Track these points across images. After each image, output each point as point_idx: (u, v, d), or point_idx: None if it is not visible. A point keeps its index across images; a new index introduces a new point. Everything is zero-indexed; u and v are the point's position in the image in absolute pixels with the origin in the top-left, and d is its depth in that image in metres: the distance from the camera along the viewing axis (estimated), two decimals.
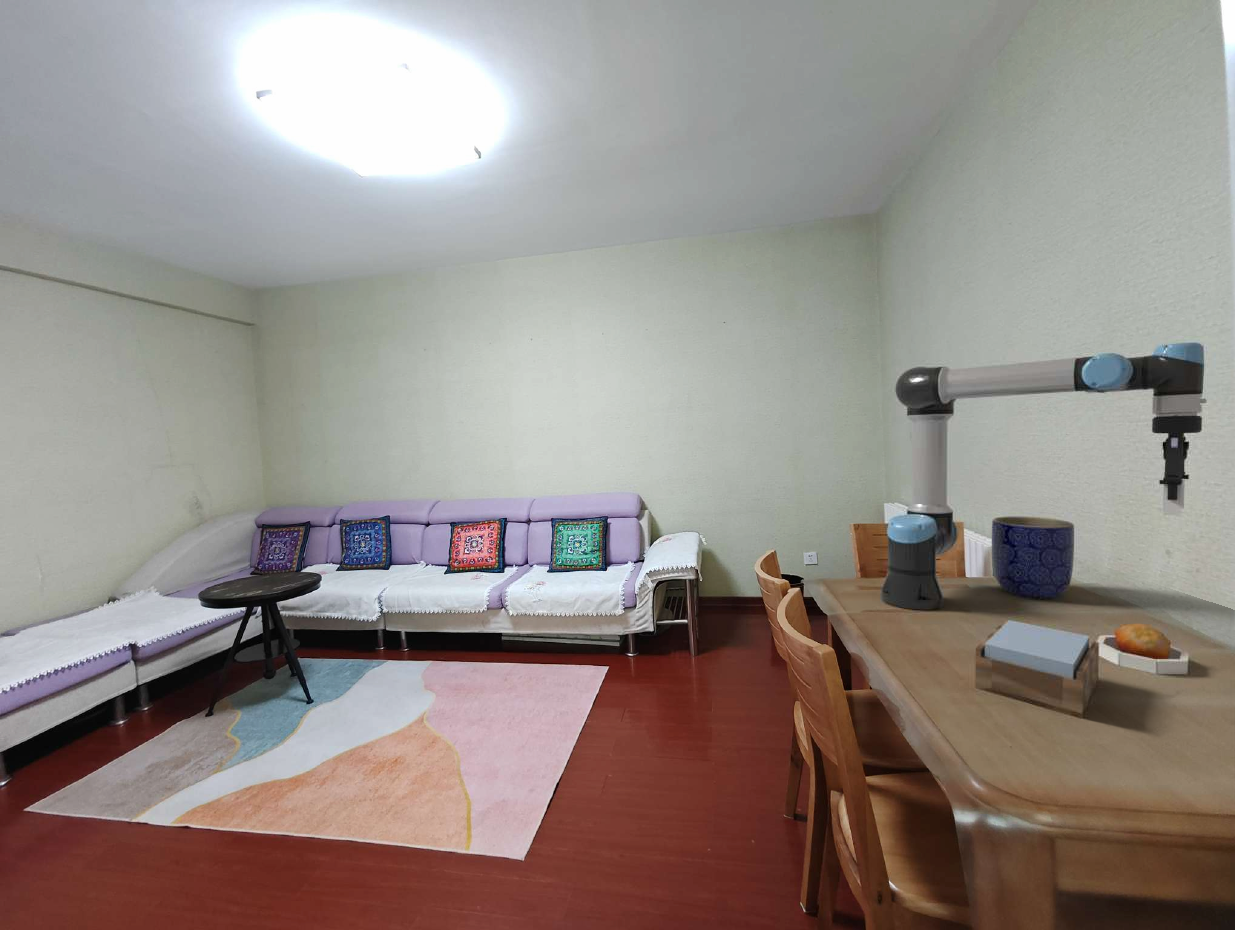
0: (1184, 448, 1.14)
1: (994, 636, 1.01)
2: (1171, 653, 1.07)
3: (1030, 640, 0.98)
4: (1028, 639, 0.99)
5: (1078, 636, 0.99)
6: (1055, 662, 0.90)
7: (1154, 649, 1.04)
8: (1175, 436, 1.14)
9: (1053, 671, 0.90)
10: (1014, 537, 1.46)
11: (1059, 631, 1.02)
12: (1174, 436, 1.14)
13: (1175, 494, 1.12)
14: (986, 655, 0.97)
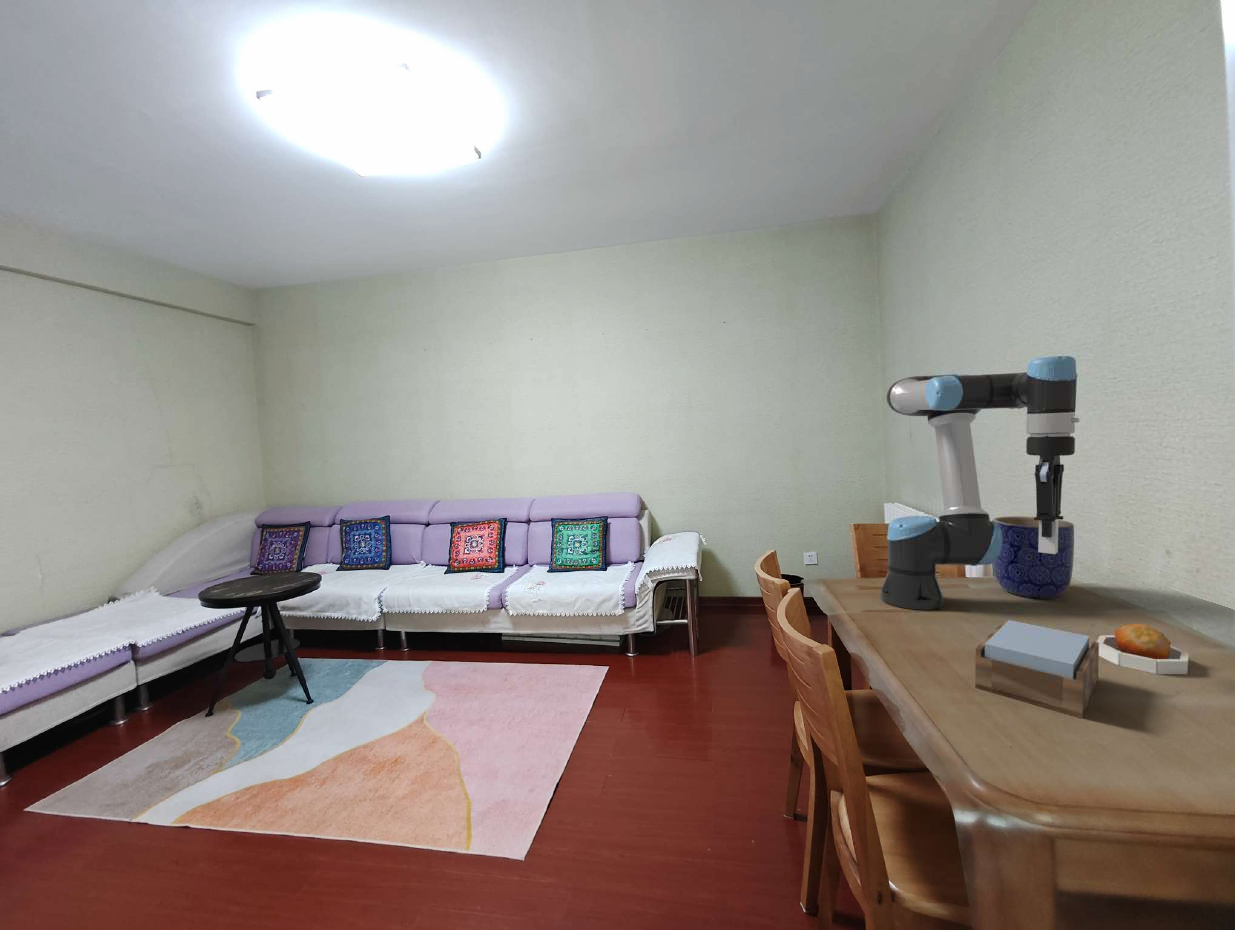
0: (1056, 475, 1.04)
1: (994, 636, 1.01)
2: (1171, 653, 1.07)
3: (1030, 640, 0.98)
4: (1028, 639, 0.99)
5: (1078, 636, 0.99)
6: (1055, 662, 0.90)
7: (1154, 649, 1.04)
8: (1046, 459, 1.04)
9: (1053, 671, 0.90)
10: (1014, 537, 1.46)
11: (1059, 631, 1.02)
12: (1045, 459, 1.04)
13: (1049, 531, 1.05)
14: (986, 655, 0.97)
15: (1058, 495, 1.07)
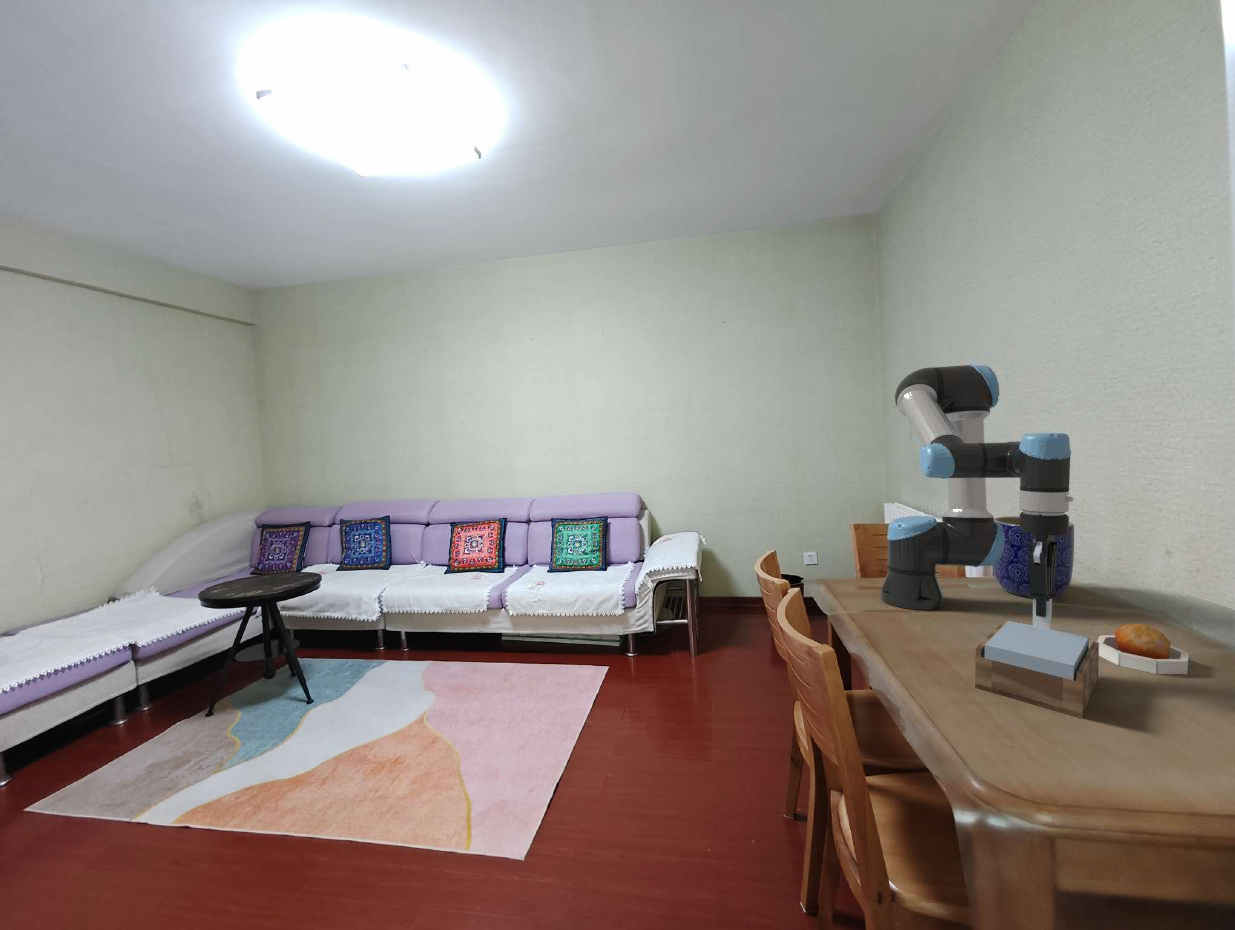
0: (1050, 555, 1.02)
1: (994, 637, 1.00)
2: (1171, 653, 1.07)
3: (1029, 641, 0.98)
4: (1028, 639, 0.98)
5: (1078, 637, 0.99)
6: (1056, 663, 0.89)
7: (1154, 649, 1.04)
8: (1039, 538, 1.01)
9: (1053, 672, 0.90)
10: (1014, 537, 1.46)
11: (1059, 631, 1.02)
12: (1038, 538, 1.01)
13: (1043, 611, 1.03)
14: (986, 656, 0.97)
15: (1052, 573, 1.04)
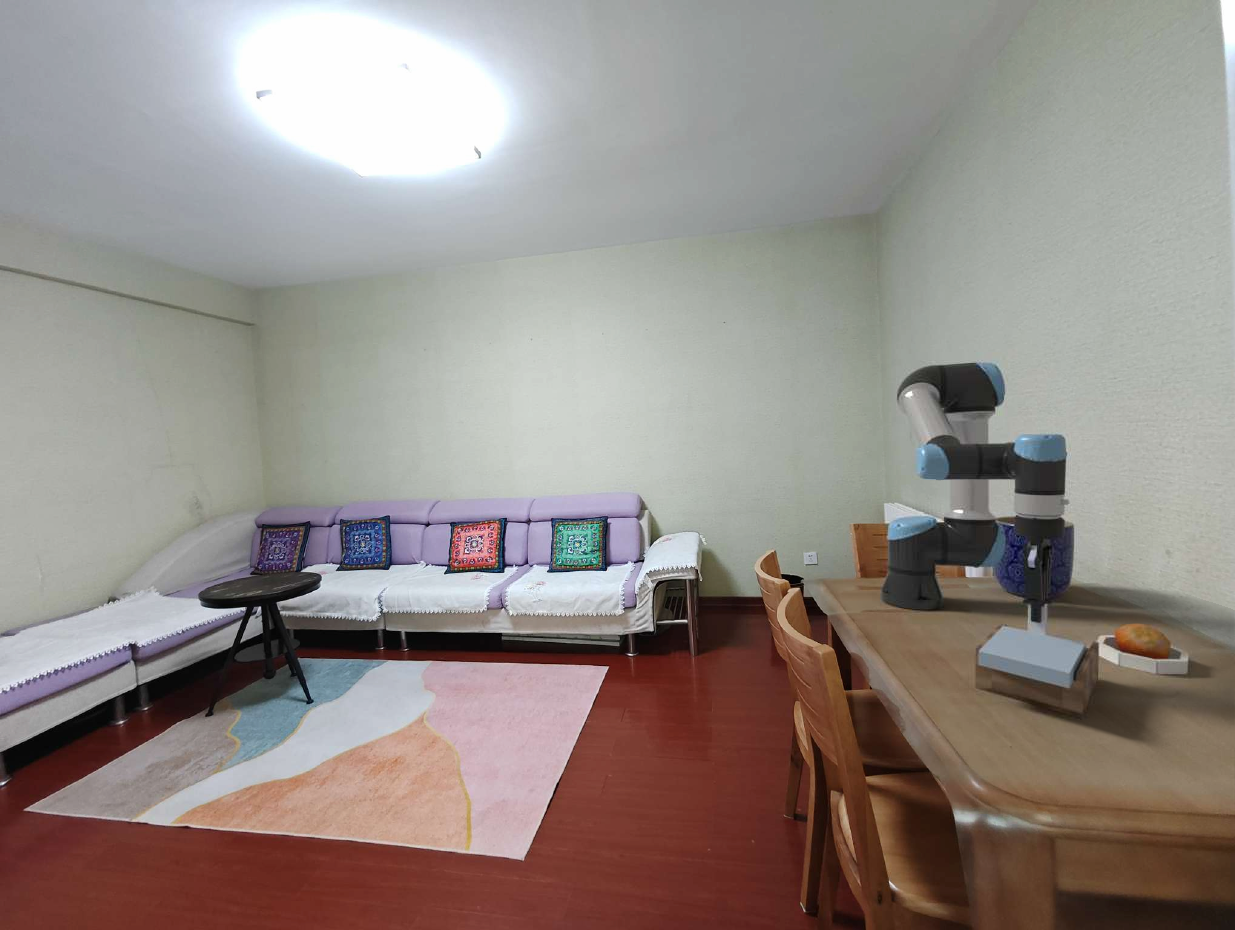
0: (1045, 559, 0.99)
1: (988, 643, 0.98)
2: (1171, 653, 1.07)
3: (1025, 648, 0.95)
4: (1023, 645, 0.96)
5: (1074, 643, 0.96)
6: (1051, 670, 0.87)
7: (1154, 649, 1.04)
8: (1034, 542, 0.99)
9: (1049, 680, 0.87)
10: (1014, 537, 1.46)
11: (1055, 637, 0.99)
12: (1033, 542, 0.99)
13: (1038, 616, 1.00)
14: (980, 663, 0.94)
15: (1047, 578, 1.02)
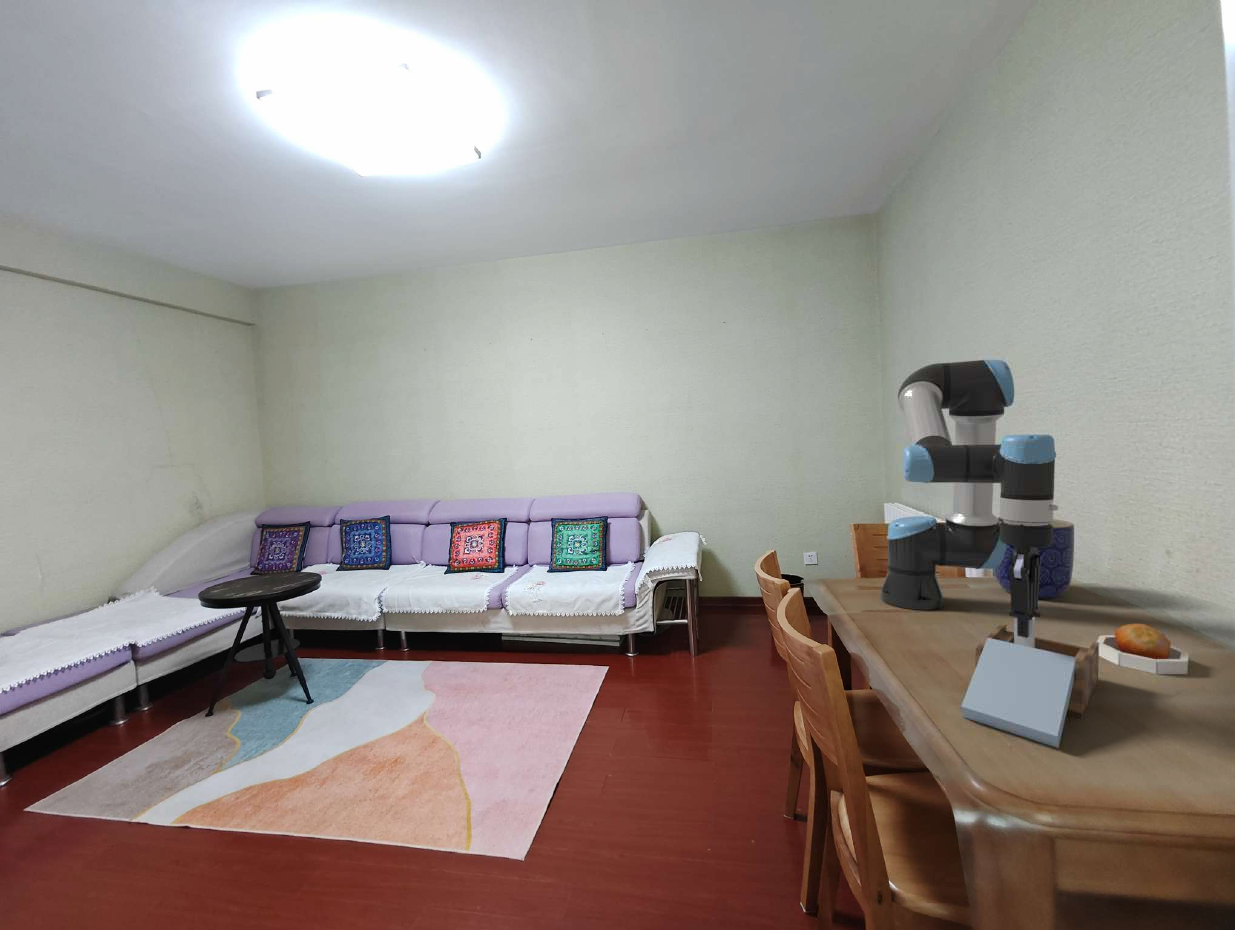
0: (1033, 569, 0.92)
1: (971, 684, 0.91)
2: (1171, 653, 1.07)
3: (1010, 686, 0.88)
4: (1009, 681, 0.89)
5: (1063, 661, 0.89)
6: (1038, 731, 0.80)
7: (1154, 649, 1.04)
8: (1021, 551, 0.92)
9: (1036, 738, 0.81)
10: None
11: (1043, 653, 0.91)
12: (1019, 551, 0.92)
13: (1025, 631, 0.93)
14: (964, 716, 0.88)
15: (1035, 589, 0.95)
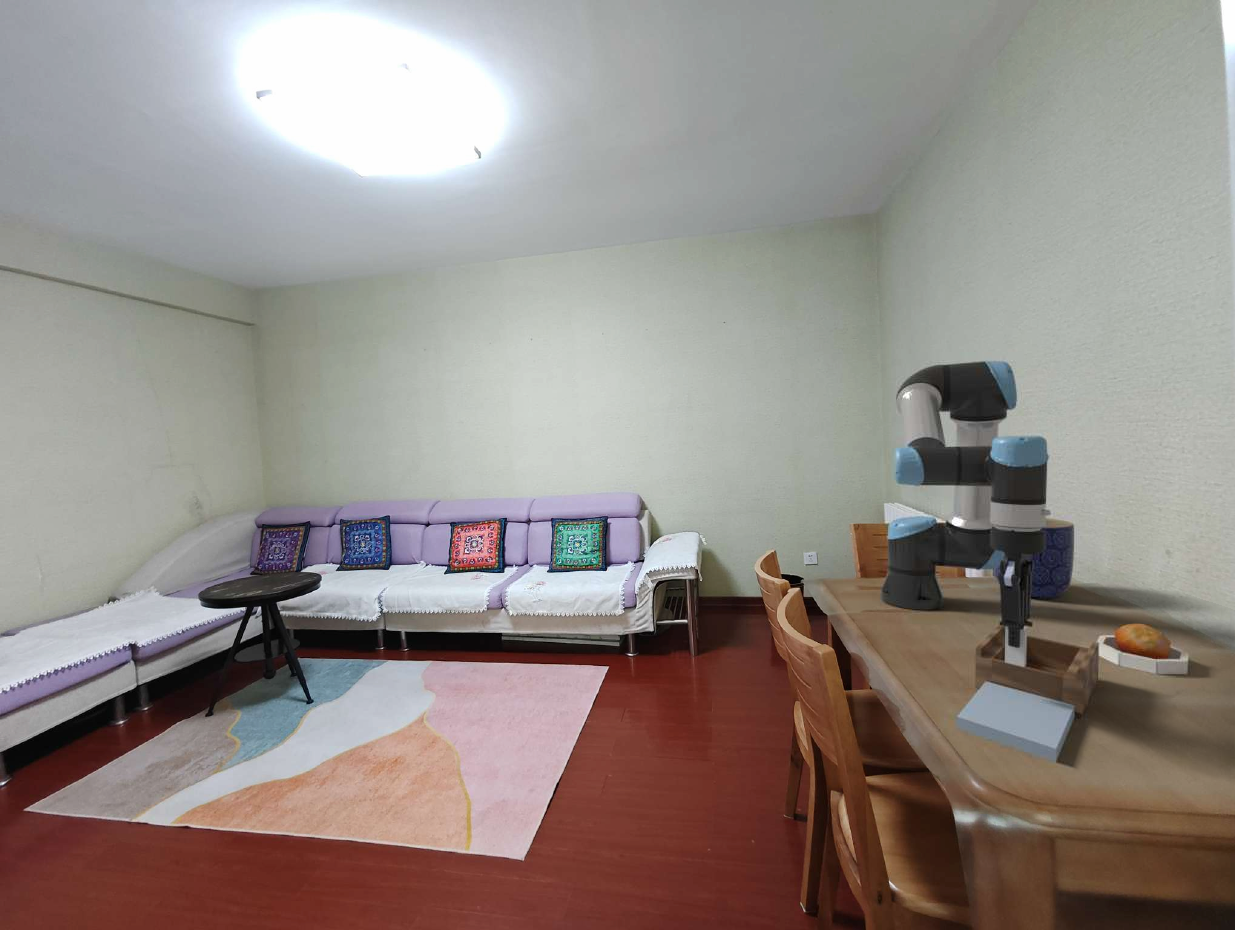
0: (1024, 577, 0.88)
1: (968, 705, 0.89)
2: (1171, 653, 1.07)
3: (1008, 712, 0.86)
4: (1007, 709, 0.87)
5: (1062, 705, 0.88)
6: (1036, 744, 0.78)
7: (1154, 649, 1.04)
8: (1011, 557, 0.88)
9: (1033, 754, 0.78)
10: None
11: (1041, 698, 0.90)
12: (1010, 557, 0.88)
13: (1016, 641, 0.89)
14: None
15: (1027, 597, 0.91)
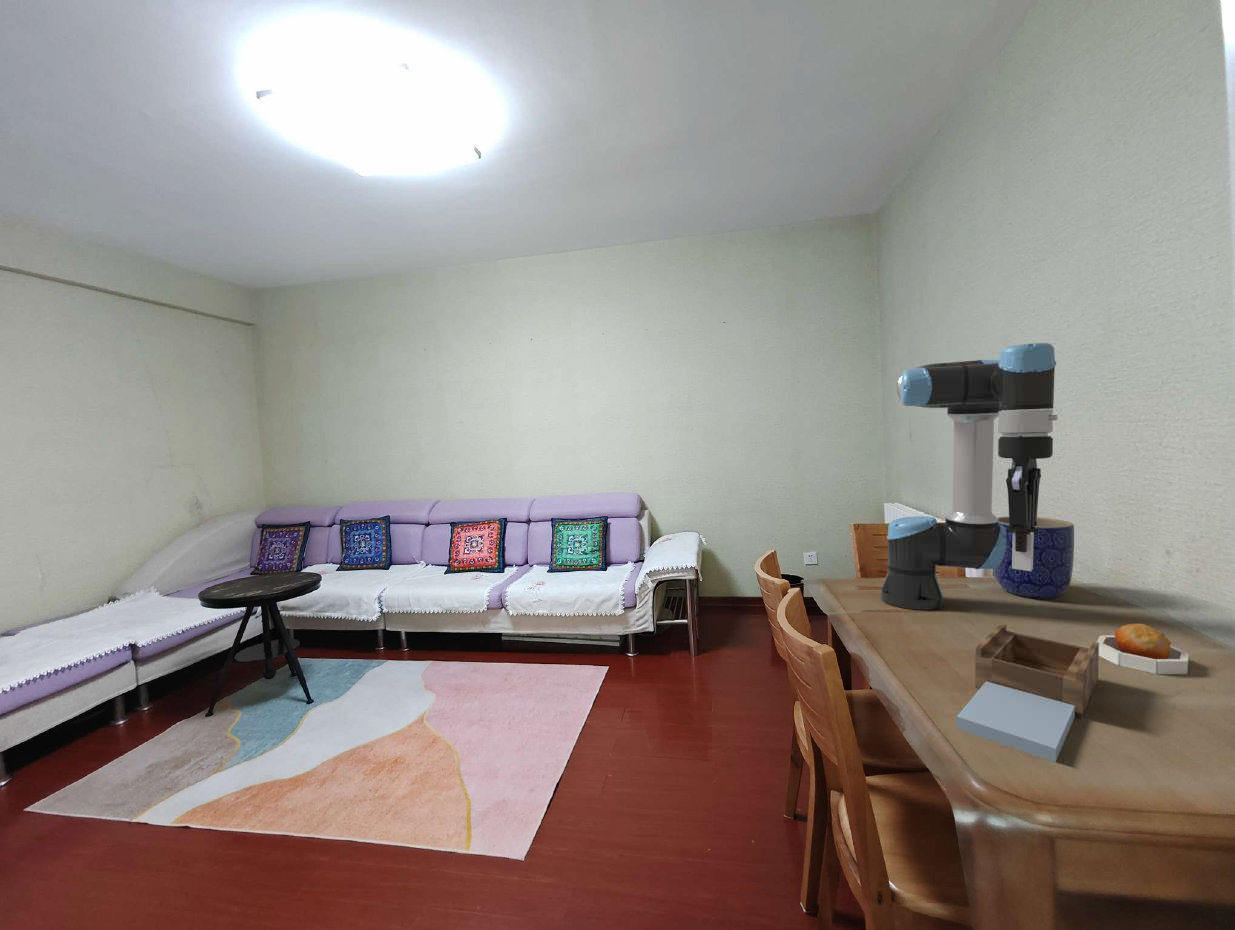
0: (1031, 482, 0.90)
1: (968, 705, 0.89)
2: (1171, 653, 1.07)
3: (1008, 712, 0.86)
4: (1006, 709, 0.87)
5: (1062, 705, 0.88)
6: (1035, 744, 0.78)
7: (1154, 649, 1.04)
8: (1019, 462, 0.90)
9: (1033, 754, 0.78)
10: None
11: (1042, 698, 0.90)
12: (1018, 462, 0.90)
13: (1023, 545, 0.92)
14: None
15: (1034, 504, 0.93)
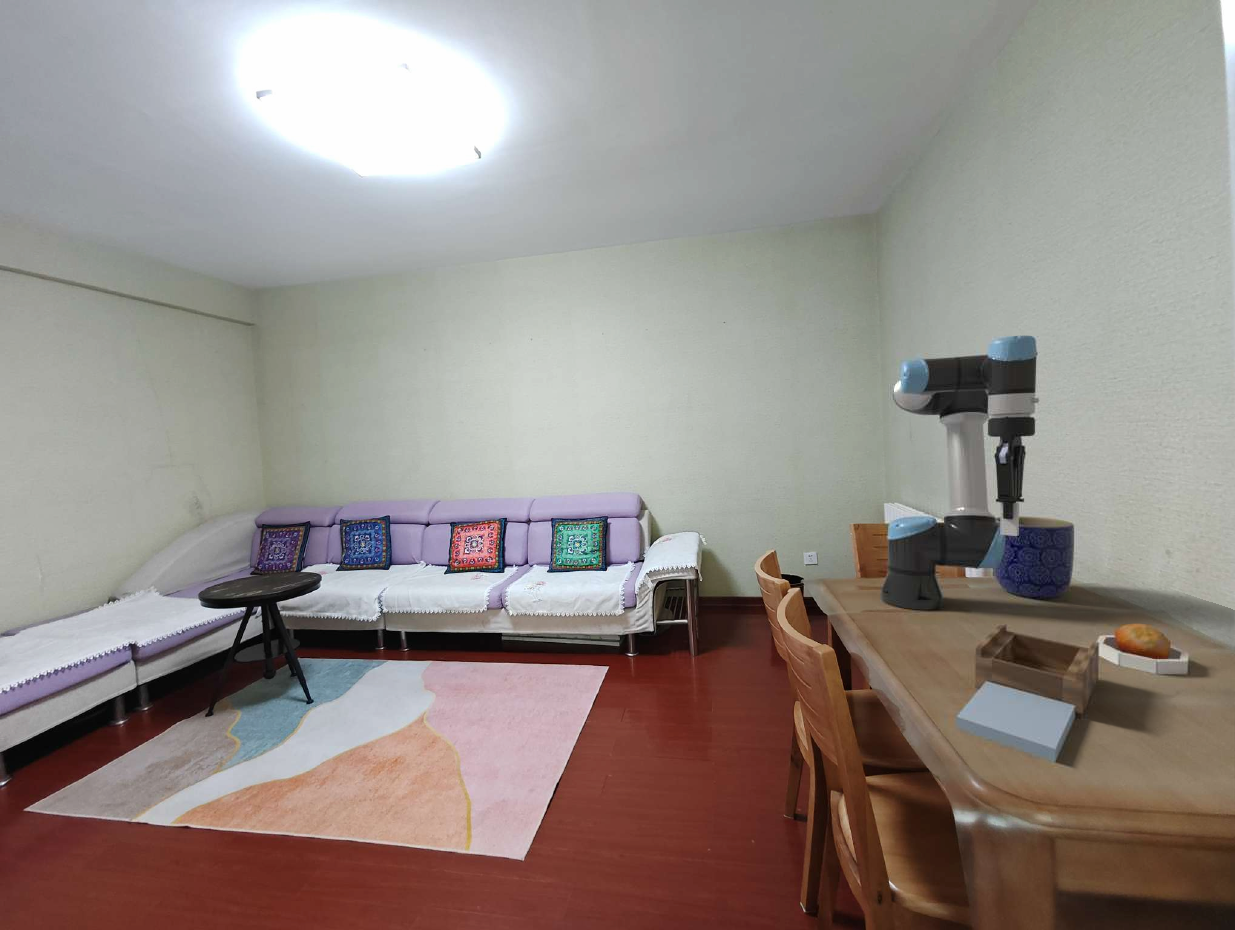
0: (1016, 457, 1.03)
1: (968, 705, 0.89)
2: (1171, 653, 1.07)
3: (1008, 712, 0.86)
4: (1006, 709, 0.87)
5: (1062, 705, 0.88)
6: (1035, 744, 0.78)
7: (1154, 649, 1.04)
8: (1006, 440, 1.03)
9: (1033, 754, 0.78)
10: (1014, 537, 1.46)
11: (1042, 698, 0.90)
12: (1005, 440, 1.03)
13: (1010, 513, 1.04)
14: None
15: (1019, 477, 1.06)
